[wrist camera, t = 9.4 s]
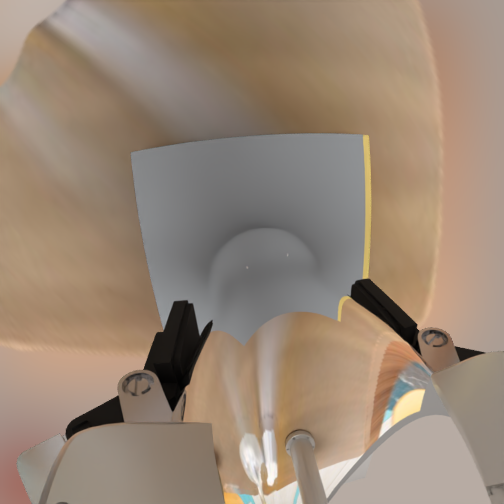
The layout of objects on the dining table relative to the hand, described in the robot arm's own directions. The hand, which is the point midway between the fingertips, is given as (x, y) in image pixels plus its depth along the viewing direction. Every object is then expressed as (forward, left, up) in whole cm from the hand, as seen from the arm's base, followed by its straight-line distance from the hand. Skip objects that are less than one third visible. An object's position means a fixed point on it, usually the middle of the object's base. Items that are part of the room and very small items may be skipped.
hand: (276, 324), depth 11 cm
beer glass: (0, 0, -5) cm, 5 cm away
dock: (0, 0, -9) cm, 9 cm away
